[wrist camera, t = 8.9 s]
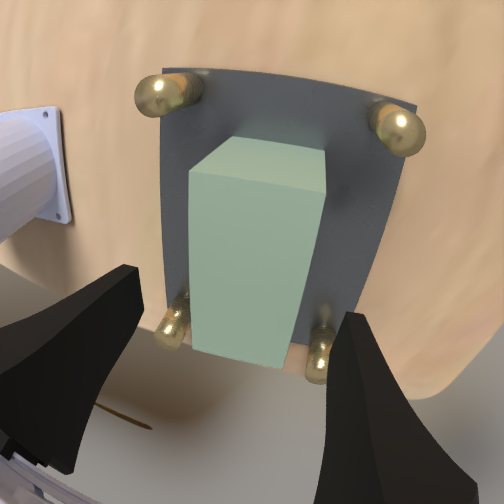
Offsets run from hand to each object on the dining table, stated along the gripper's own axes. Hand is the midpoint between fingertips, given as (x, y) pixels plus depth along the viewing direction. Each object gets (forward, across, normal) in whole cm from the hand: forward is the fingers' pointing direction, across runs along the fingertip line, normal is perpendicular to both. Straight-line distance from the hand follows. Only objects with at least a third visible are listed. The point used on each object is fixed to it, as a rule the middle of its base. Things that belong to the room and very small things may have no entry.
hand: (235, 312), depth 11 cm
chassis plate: (+7, 0, 0) cm, 7 cm away
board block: (+6, 0, 0) cm, 6 cm away
